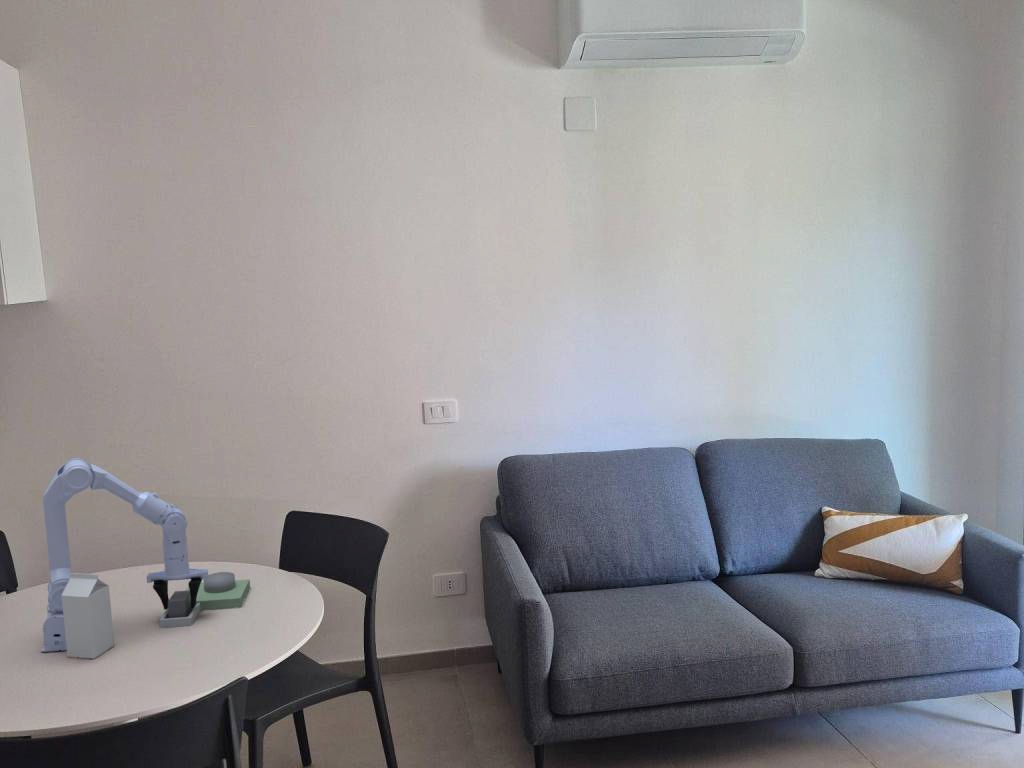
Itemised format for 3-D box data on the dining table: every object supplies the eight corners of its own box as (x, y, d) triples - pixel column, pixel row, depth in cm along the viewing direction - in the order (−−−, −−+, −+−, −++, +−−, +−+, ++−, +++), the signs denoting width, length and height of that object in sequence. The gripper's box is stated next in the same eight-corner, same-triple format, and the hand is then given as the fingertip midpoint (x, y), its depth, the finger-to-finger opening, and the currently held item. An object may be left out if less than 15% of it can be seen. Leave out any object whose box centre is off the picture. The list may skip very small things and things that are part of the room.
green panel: (233, 622, 213) (231, 601, 212) (159, 627, 211) (158, 606, 210) (250, 587, 237) (248, 569, 236) (184, 592, 234) (182, 573, 234)
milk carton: (94, 659, 194) (86, 580, 192) (67, 657, 196) (59, 578, 193) (114, 646, 201) (107, 569, 199) (88, 644, 203) (81, 567, 200)
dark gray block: (185, 623, 214) (184, 600, 213) (169, 624, 213) (167, 601, 212) (192, 612, 221) (190, 590, 220) (176, 613, 220) (174, 591, 219)
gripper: (209, 548, 219) (213, 598, 221) (150, 552, 217) (155, 603, 219) (202, 557, 212) (206, 609, 214) (142, 561, 211) (147, 613, 212)
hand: (180, 607), depth 216 cm, fingers open, 6 cm apart
